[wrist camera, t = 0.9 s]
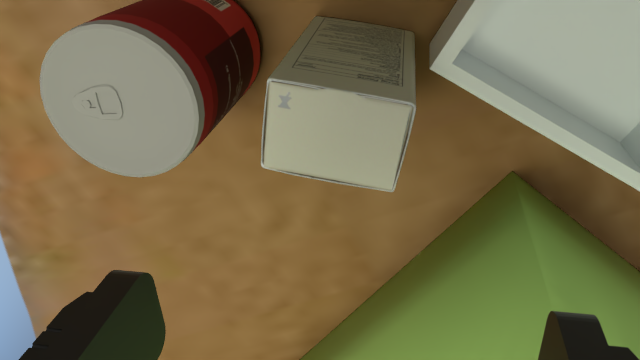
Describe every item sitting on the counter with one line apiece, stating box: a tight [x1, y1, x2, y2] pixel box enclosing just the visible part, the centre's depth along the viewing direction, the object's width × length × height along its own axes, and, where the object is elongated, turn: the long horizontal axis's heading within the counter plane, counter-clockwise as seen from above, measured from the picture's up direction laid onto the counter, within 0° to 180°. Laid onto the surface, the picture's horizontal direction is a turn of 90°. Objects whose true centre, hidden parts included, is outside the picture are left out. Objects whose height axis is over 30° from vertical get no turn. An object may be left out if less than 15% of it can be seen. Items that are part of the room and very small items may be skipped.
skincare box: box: [261, 16, 416, 192], centre depth 27 cm, size 6×4×12 cm
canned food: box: [40, 0, 260, 177], centre depth 29 cm, size 8×8×11 cm
